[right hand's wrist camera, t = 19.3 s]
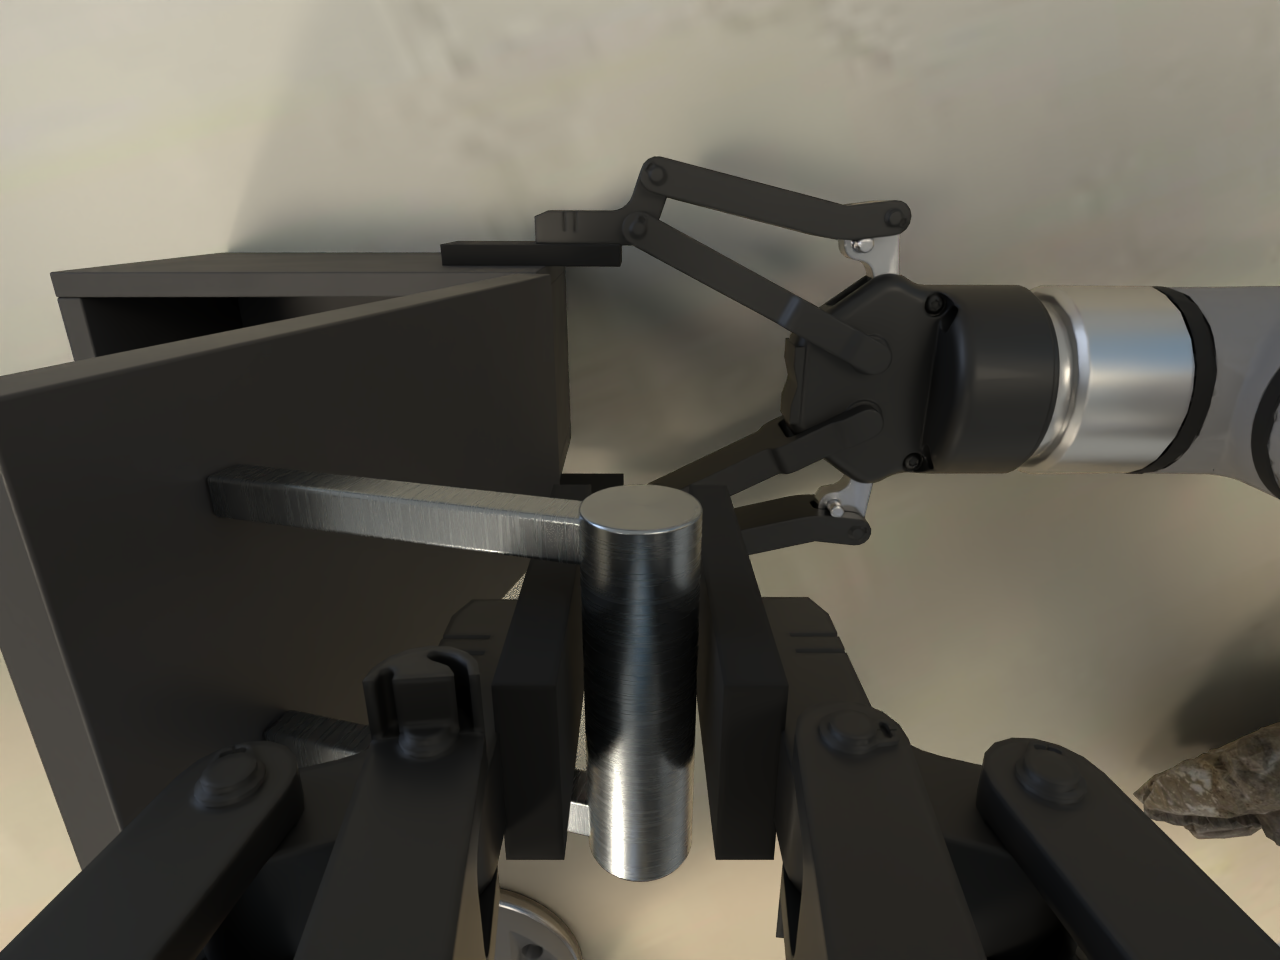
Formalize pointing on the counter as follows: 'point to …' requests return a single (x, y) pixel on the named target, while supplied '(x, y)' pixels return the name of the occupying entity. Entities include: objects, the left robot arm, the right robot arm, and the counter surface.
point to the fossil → (1222, 789)
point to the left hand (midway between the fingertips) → (461, 380)
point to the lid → (326, 553)
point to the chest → (265, 298)
